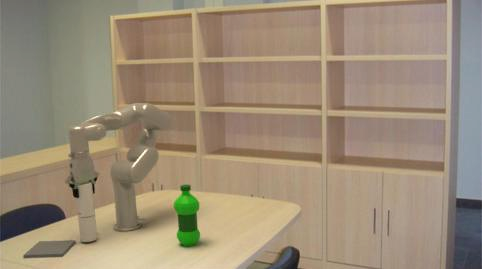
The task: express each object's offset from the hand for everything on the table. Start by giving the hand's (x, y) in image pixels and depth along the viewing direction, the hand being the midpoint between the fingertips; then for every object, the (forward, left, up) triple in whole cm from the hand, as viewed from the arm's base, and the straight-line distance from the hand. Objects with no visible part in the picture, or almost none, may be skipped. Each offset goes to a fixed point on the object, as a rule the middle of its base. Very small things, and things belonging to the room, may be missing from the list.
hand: (84, 195), depth 229 cm
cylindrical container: (0, 0, -20) cm, 20 cm away
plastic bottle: (-45, +7, -21) cm, 50 cm away
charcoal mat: (+13, +9, -21) cm, 26 cm away
